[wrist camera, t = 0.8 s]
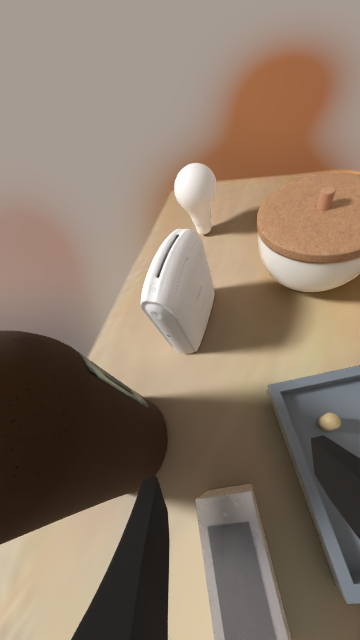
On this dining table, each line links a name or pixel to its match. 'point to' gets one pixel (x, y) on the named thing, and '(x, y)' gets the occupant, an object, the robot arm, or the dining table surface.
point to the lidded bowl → (312, 232)
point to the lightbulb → (197, 194)
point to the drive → (239, 567)
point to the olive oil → (67, 434)
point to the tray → (297, 429)
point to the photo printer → (179, 291)
